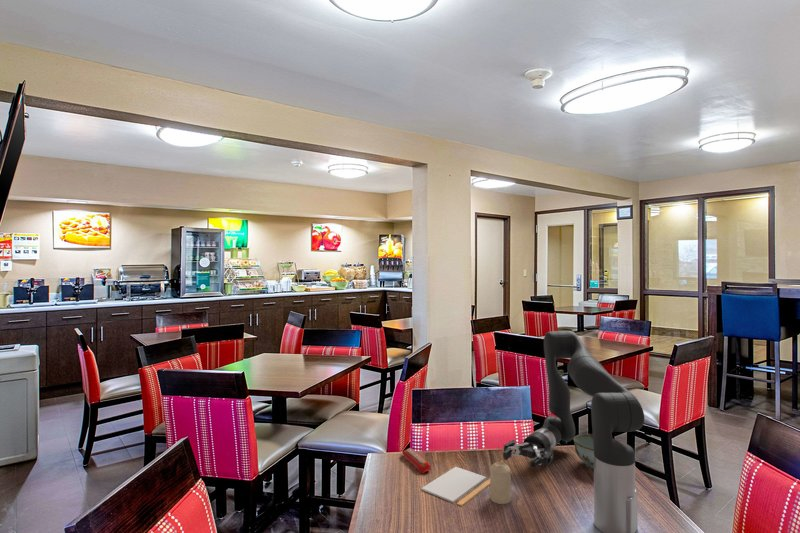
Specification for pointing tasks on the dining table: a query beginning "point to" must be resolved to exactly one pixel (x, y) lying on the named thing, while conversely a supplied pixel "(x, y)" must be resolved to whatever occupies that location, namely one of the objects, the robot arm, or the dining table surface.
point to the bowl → (585, 449)
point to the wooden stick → (474, 493)
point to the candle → (500, 483)
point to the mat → (453, 484)
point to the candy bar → (416, 460)
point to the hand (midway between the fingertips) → (517, 460)
